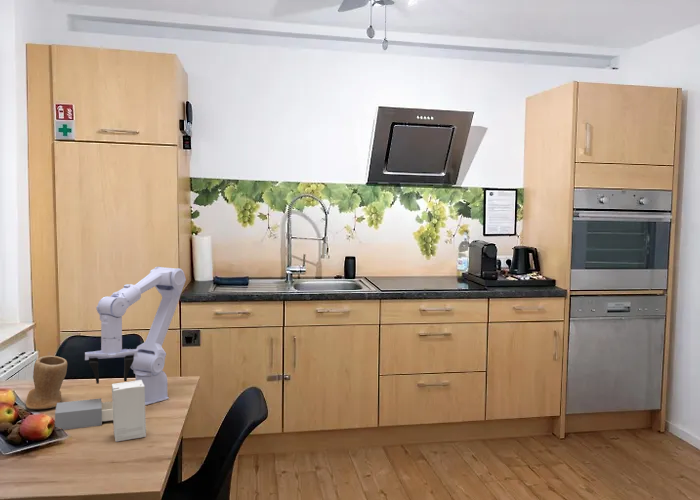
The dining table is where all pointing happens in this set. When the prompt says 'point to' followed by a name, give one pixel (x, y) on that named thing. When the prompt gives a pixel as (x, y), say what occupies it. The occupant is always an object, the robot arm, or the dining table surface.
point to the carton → (78, 414)
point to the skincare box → (129, 410)
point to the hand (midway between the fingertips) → (111, 381)
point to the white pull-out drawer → (107, 411)
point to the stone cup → (47, 382)
